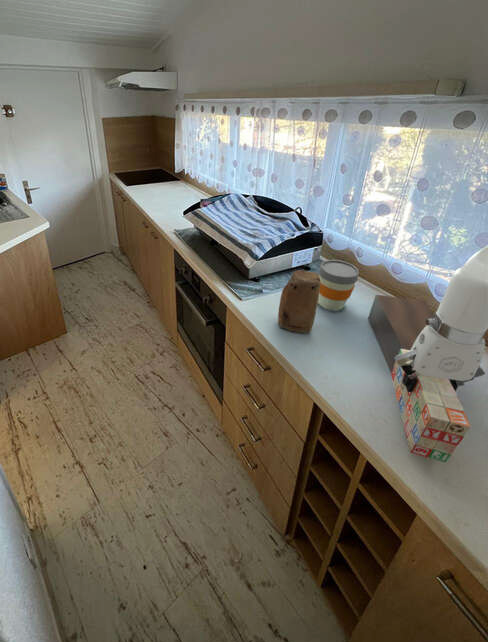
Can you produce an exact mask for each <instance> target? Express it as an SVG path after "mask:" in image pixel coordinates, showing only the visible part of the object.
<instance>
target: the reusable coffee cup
mask: <svg viewBox="0 0 488 642" xmlns="http://www.w3.org/2000/svg"><path fill="white" fill-rule="evenodd" d="M318 275H319V276H320V291H319V299H318V305H319V306H320V307H322V308H323V309H326V310H328V311H334V312H335V311H340V310H341V311H342V310H343V308H344V307H345V305H346V303H347V300H348V299H350V297H351V295H352V293H353V291H354V290H355V283H357V282H358V278H359V269H358V268H357V267H356V265H354V264H352V263H349V262H347V261H344V260H340V259H327V260H324V261H322V262H321V264H320V266H319V269H318Z"/></svg>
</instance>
